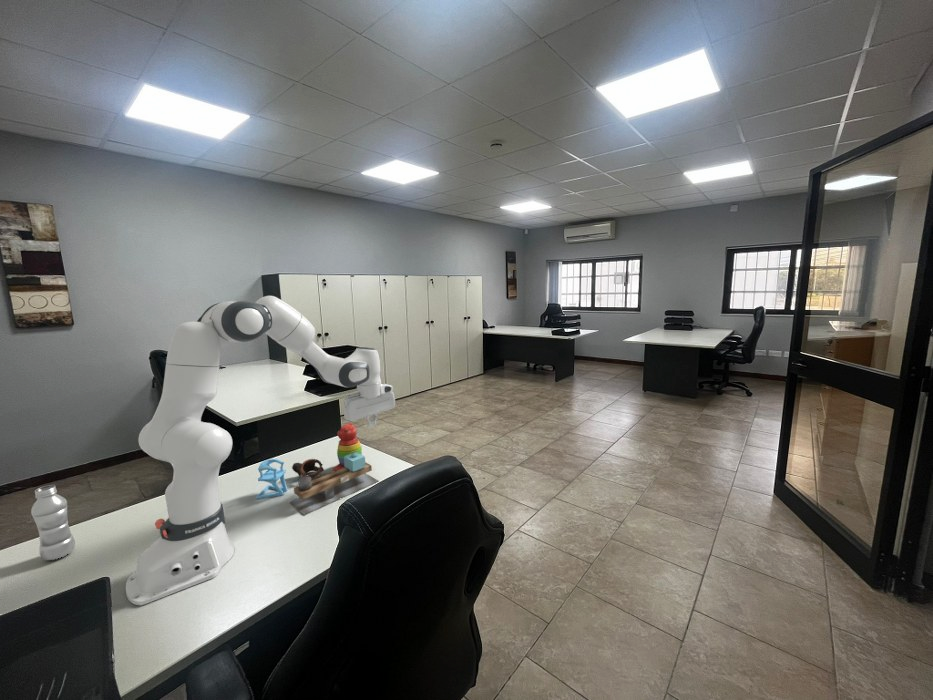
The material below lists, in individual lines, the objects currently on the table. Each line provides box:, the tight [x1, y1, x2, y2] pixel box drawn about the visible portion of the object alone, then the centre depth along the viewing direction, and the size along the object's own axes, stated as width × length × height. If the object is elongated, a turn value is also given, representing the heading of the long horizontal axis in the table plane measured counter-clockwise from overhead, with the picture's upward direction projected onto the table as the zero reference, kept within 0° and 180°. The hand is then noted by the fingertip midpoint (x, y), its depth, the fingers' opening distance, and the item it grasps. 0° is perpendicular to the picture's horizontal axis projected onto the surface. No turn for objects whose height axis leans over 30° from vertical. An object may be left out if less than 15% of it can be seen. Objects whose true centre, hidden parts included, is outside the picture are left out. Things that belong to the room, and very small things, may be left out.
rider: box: [344, 452, 366, 472], centre depth 138 cm, size 5×6×7 cm
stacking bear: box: [332, 422, 363, 472], centre depth 150 cm, size 11×10×18 cm
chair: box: [256, 458, 289, 500], centre depth 133 cm, size 8×8×12 cm
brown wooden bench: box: [289, 461, 380, 516], centre depth 133 cm, size 28×11×9 cm, turn 137°
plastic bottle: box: [30, 484, 76, 561], centre depth 102 cm, size 6×7×20 cm
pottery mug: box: [291, 458, 325, 481], centre depth 143 cm, size 12×10×8 cm
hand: (371, 425), depth 142 cm, fingers closed
